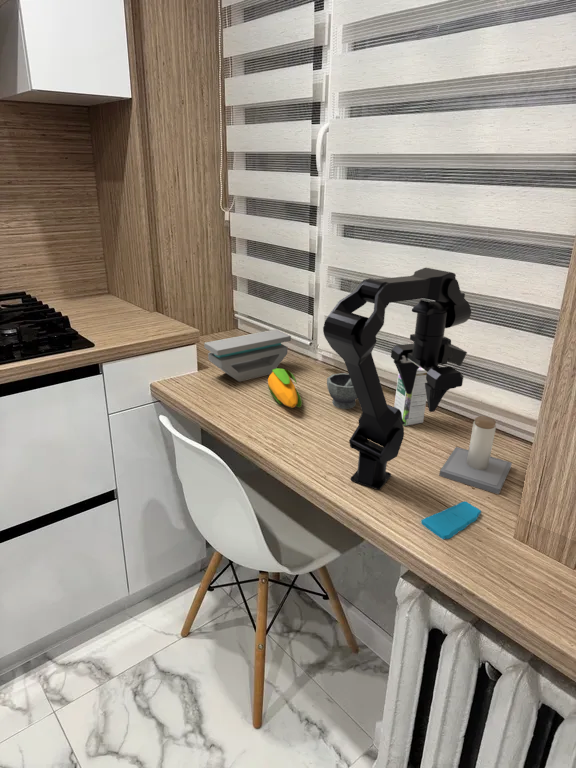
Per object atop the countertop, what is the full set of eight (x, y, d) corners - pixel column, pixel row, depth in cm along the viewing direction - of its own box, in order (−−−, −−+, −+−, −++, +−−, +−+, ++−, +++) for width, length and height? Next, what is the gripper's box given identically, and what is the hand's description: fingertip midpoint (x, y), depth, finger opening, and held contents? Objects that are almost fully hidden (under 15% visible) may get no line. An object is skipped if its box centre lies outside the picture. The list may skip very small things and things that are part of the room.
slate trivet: (498, 494, 105) (499, 489, 104) (439, 475, 111) (440, 470, 110) (510, 467, 114) (511, 462, 114) (455, 451, 120) (456, 446, 120)
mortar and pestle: (318, 402, 142) (320, 360, 138) (342, 393, 148) (345, 353, 143) (348, 417, 135) (352, 373, 130) (373, 407, 140) (377, 365, 136)
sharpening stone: (275, 361, 170) (276, 329, 165) (289, 369, 164) (290, 335, 160) (205, 377, 156) (204, 342, 152) (218, 386, 150) (217, 350, 146)
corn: (288, 360, 150) (309, 388, 132) (289, 384, 153) (310, 415, 135) (263, 363, 148) (280, 392, 130) (264, 388, 151) (282, 419, 133)
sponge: (490, 517, 97) (466, 497, 101) (444, 538, 91) (420, 517, 96) (488, 523, 98) (464, 503, 102) (442, 545, 92) (418, 523, 96)
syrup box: (391, 416, 136) (397, 363, 130) (411, 413, 138) (418, 361, 132) (404, 426, 131) (410, 372, 125) (424, 423, 133) (431, 369, 127)
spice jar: (483, 472, 110) (492, 428, 106) (463, 464, 112) (470, 421, 108) (491, 463, 113) (499, 420, 109) (471, 456, 116) (478, 413, 111)
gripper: (492, 343, 101) (479, 416, 107) (438, 317, 117) (429, 381, 124) (442, 348, 98) (431, 423, 104) (393, 320, 114) (386, 386, 120)
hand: (419, 402), depth 113 cm, fingers open, 9 cm apart
